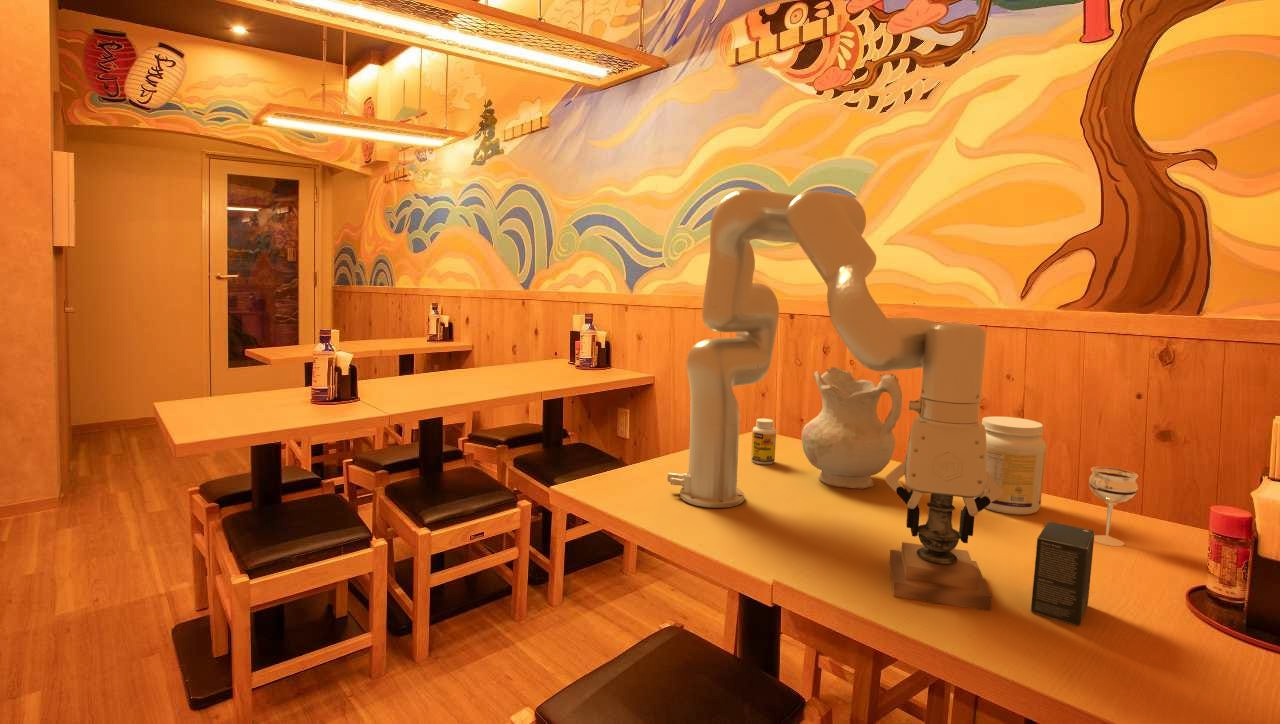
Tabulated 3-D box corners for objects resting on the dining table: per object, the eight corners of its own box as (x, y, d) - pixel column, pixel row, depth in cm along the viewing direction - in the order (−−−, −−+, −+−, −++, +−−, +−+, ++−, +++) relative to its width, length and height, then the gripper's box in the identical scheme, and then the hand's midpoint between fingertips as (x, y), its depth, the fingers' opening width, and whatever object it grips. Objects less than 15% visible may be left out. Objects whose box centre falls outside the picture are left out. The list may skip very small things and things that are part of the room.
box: (1040, 592, 94) (1047, 520, 93) (1088, 605, 90) (1096, 530, 89) (1029, 612, 88) (1036, 535, 87) (1079, 627, 84) (1088, 547, 83)
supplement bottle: (748, 463, 157) (750, 421, 156) (753, 458, 163) (755, 416, 161) (772, 466, 156) (774, 423, 154) (776, 460, 161) (778, 419, 159)
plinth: (893, 596, 92) (895, 568, 91) (889, 562, 103) (891, 537, 103) (990, 611, 88) (993, 582, 88) (974, 573, 99) (977, 548, 99)
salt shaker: (964, 566, 92) (972, 482, 90) (919, 561, 93) (925, 478, 91) (953, 549, 97) (960, 470, 96) (910, 545, 99) (917, 466, 97)
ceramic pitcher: (915, 489, 144) (926, 374, 143) (880, 503, 130) (892, 375, 128) (822, 469, 158) (832, 365, 157) (782, 480, 144) (791, 365, 142)
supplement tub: (990, 492, 140) (997, 413, 138) (1052, 509, 130) (1061, 424, 128) (957, 502, 133) (964, 418, 131) (1020, 520, 123) (1028, 431, 121)
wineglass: (1122, 536, 116) (1130, 469, 115) (1137, 550, 110) (1145, 480, 108) (1077, 530, 118) (1084, 465, 117) (1089, 544, 112) (1097, 475, 110)
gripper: (884, 411, 92) (875, 537, 94) (1025, 422, 86) (1011, 555, 89) (882, 402, 99) (873, 519, 101) (1012, 412, 94) (1000, 535, 96)
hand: (938, 535), depth 95 cm, fingers closed on salt shaker, 5 cm apart
